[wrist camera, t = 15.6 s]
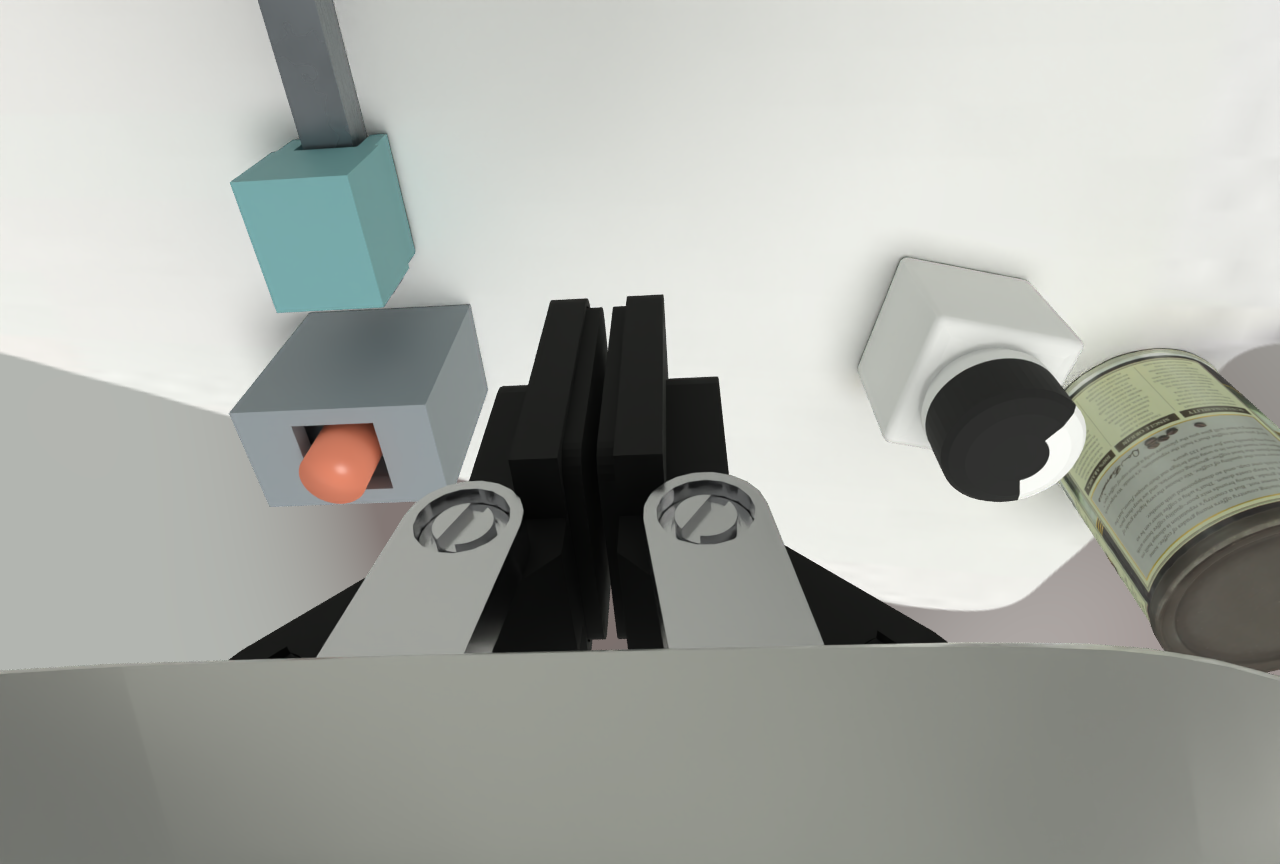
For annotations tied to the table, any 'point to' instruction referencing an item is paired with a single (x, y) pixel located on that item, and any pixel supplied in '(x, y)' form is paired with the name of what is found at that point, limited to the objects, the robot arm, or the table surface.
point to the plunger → (341, 462)
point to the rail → (315, 72)
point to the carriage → (327, 225)
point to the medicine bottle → (975, 379)
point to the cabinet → (368, 399)
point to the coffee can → (1184, 501)
